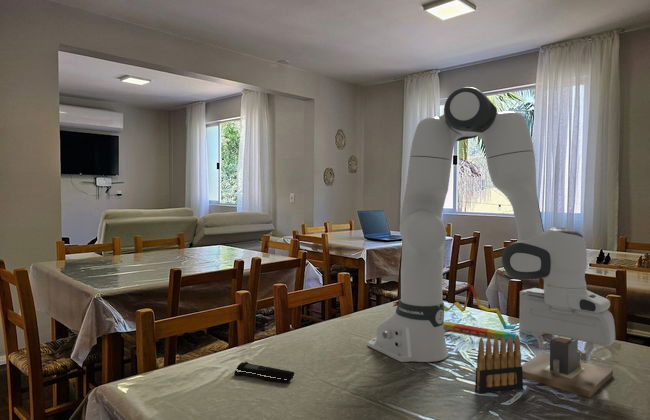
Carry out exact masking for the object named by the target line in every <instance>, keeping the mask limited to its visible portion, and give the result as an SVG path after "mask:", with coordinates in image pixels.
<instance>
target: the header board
mask: <svg viewBox="0 0 650 420" xmlns="http://www.w3.org/2000/svg"><path fill="white" fill-rule="evenodd" d="M581 352H582V351H579V350H578V361H577V369H575V370H574V371H573V372H571V373H570V374H569V375H566V374H562V373H559V360H558V359H553V371H551V370H550V353H547V352H544V351H543V352H541V353H538V354H537V355H536V356H534V357H531V359H529V360H528V361H526V362H524V363H522V364H521V366H522V371H523V379H526V380H530V381H533V382H537V383H538V384H539V383H540V384H543V385H545V386H550V387H553V388H556V389H559V390H562V391H566V392H569V393H571V394H572V393H573V394H576V395H579V396H582V397H586V398H589V399H591V397H593V396H594V395H595V394H596V393H597V392H598V391H599V390H600V389H601V388H602V387H603V386H604V385H606V383H607V382H608V381H610V379H612V378H613V376H614V369H610V368H606V367H603V366H598V365H596V364H595V365H594V364H591V363H587V362H583V361H581V357H582V356H581Z"/></svg>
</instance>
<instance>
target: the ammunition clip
mask: <svg viewBox="0 0 650 420" xmlns="http://www.w3.org/2000/svg"><path fill="white" fill-rule="evenodd" d="M476 362H477V365H476V367H475V384H474V385H475V386H474V391H476V393H478V394H479V395H482V394H490V393H499V392H507V391H508V392H509V391H519V390H523V389H524V378H523V371H522V366H521V365H522V351H521V342H520V337H519V335H518V334H516V338H515V340H514V342H513V341H512V337H511V335H510V336H509V338H508V341H506V340H505V338H504V336H502V339H500V345H499V339H497V337H495V338H493V344H492V341H491V338H490V337H487V339H486V343H485V344H484V339H483V338H482V337H480V338H479V342H478V351H477V360H476Z"/></svg>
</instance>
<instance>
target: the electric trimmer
mask: <svg viewBox="0 0 650 420" xmlns="http://www.w3.org/2000/svg"><path fill="white" fill-rule="evenodd" d="M236 369H238V370H241V371H246V372H252V373H256V374H252V373H246V372H237V371H236V370H235V371H234V374H233V375H236V377H239V376H240V375H242V376H249V377H254V378H260V379H263V380H264V381H267V382H269V381H270V382H282V383H283V382H285V383H286V382H287V383H289V382H290V381H291V380H292V379H294V377H295V372H294V371H291V370H287V369H280V368H276V367H271V366H265V365H259V364H258V365H257V364H253V363H250V362H248V361H245V362H244V361H243V362H240V363H239V364H238V365H237V367H236ZM257 374H261V375H266V376H271V377H276V378H270V377H264V376H260V375H257ZM293 376H294V377H293ZM277 378H281V379H277ZM284 379H287V380H284Z"/></svg>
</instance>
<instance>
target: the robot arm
mask: <svg viewBox="0 0 650 420" xmlns="http://www.w3.org/2000/svg"><path fill="white" fill-rule="evenodd" d="M526 121H527V120H526V118H525V117H524V115H522V114H521V113H519V112H517V111H513V110H507V111H506V110H505V111H498V108H497V107H496V105H494V103H493V102H492V101H491V100H490V99H489V98H488V96H487V95H486V94H485V93H484V92H482V91H481V90H479V89H478V88H476V87H471V86H465V87H460V88H457V89H456V90H454V91H453V92H451V94H449V95H448V97H447V99H446V101H445V103H444V107H443V114H442V115H439V116H428V117H426V118H423V119H421V120H420V121H419V122H418V124H417V125H416V129H415V132H414V135H413V138H412V143H411V147H410V153H409V161H408V167H407V168H408V169H407V176H406V183H405V191H404V197H403V202H402V207H401V208H402V209H401V215H400V220H399V233H400V237H401V265H400V299H398V300H397V301H394V302H393V305H392V307H396V308H395V312H393V313H392V314H391V315H389V316H388V317H387V318H385V319H384V320H382V321H381V322H380V323H379V324H378V326H377V329H376V335H375V337H373V338H371V339H370V340H369V341H368V342H367V345H368V347H370V348H371V349H374V350H376V351H377V352H380V353H381V354H384V355H386V356H388V357H390V358H392V359H394V360H396V361H398V362H402V363H408V362H418V363H431V362H434V363H435V362H438V361H443V360H445V359H446V358H448V357H449V355H450V354H449V351H448V346H447V343H446V336H445V331H444V330H445V329H444V328H443V322H445V310H444V305H445V303H444V301H443V272H444V262H445V253H446V239H447V237H446V236H447V231H446V225H445V223H444V221H443V219H442V214H443V211H444V207H445V203H446V199H447V195H448V192H449V184H450V177H451V170H452V161H453V153H454V147H455V144H456V142H460V141H465V140H469V139H474V138H477V137H478V138H480V139H481V141H482V143H483V145H484V146H483V147H484V151H485V157H486V159H485V160H486V163H487V170H488V173H489V177H490V179H491V182H492V184H493V186H494V187H495V188H496V189H497V190H498V191H499V192H501V193H502V194H503V195H504V196H505V197H506V198H507V199H508V201H509V202H510V205H511V207H512V211H513V215H514V221H515V226H516V230H517V231H516V232H517V241H514V242H512V243H510V244H508V246H506V247H505V249H504V250H503V252H502V254H501V264H502V267H503V269H504V271H505V272H506V273H507V274H508V275H509V276H511V277H512V278H514V279H515V280H516V279H517V280H522V281H524V280H525V281H526V280H527V281H528V280H529V281H530V280H536V279H538V280H539V279H543V290H544V293H537V292H532V291H526V292H524V293H523V294H522V295H521V297H520V296H519V305H520V304H521V310H520V309H519V318H518V319H519V320H518V322H519V323H520V325H521V327H522V328H526V329H530V330H534V335H535V336H534V337H535V339H536V341H537V343H538V349H539V350H541V351H547V350H548V344H549V342H548V341H545V339H544V337H543V335H541V334H543V332H544V333H548V334H547V335H549V334H550V335H554V336H556V337H558V336H562V337H566V338H571V339H575V340H578V341H580V342H585V343H586V347H588V349H587V350H582V351H580V352H581V360H582V361H585V362H590V361H591V358H592V353H593V351H594V350H595V349H596V348H597V345H598V346H603V347H609V346H611V345H612V344H614V342H615V341H616V325H615V319H614V316H613V314H612V313H611V312H610V310H608V309H609V308H610V306H611V301H610V300H609V299H608V298H606V297H604V296H601V295H599V294H597V293H595V292H592V291H590V290H588V289H587V282H586V277H585V276H586V271H587V269H588V267H587V266H588V258H587V257H588V253H587V251H588V250H587V246H586V245H587V243H586V240H585V238H584V235H582V234H581V233H580V232H579V231H576V230H574V229H569V228H565V227H558V226H554V227H549V228H548V229H546V230H544V229H545V228H544V224H543V219H542V215H541V210H540V204H539V201H538V198H539V197H538V190H537V187H538V186H537V167H536V156H535V151H534V145H533V140H532V136H531V132H530V129H529V127H528V124H527V122H526ZM524 294H526V295H524ZM519 323H518V324H519Z"/></svg>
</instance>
